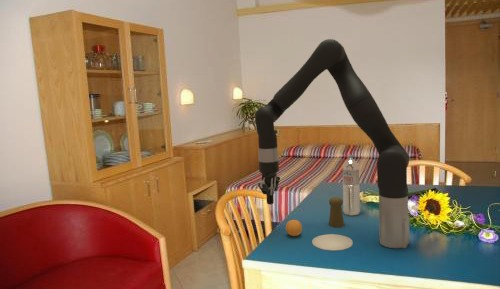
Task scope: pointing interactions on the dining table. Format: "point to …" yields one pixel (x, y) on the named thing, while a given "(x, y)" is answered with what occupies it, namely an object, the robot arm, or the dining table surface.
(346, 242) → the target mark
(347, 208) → the water bottle
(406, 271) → the dining table surface
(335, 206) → the brown rounded upright piece
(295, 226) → the ball
